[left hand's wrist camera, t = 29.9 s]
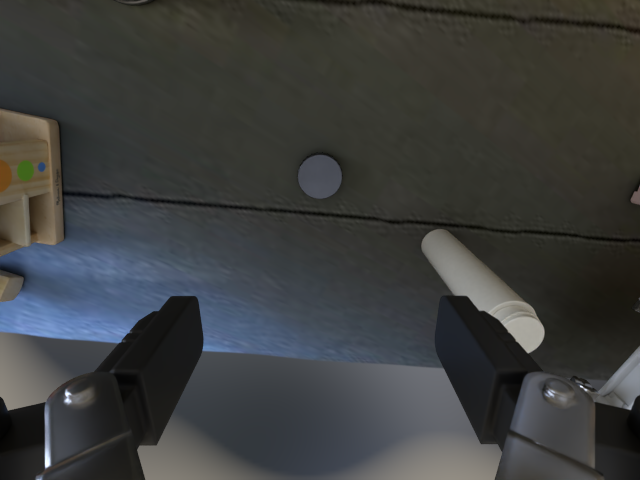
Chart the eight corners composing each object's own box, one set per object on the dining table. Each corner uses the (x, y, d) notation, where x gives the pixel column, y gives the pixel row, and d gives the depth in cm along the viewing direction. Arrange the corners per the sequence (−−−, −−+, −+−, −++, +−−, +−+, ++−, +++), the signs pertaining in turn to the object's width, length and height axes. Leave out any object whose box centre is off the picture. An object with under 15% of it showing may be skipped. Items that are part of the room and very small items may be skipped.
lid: (329, 203, 40) (329, 207, 39) (290, 184, 40) (289, 187, 38) (349, 164, 39) (350, 167, 37) (309, 144, 38) (309, 145, 36)
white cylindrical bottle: (444, 222, 41) (536, 302, 24) (460, 248, 42) (559, 342, 25) (415, 241, 42) (482, 331, 25) (431, 266, 43) (507, 369, 26)
